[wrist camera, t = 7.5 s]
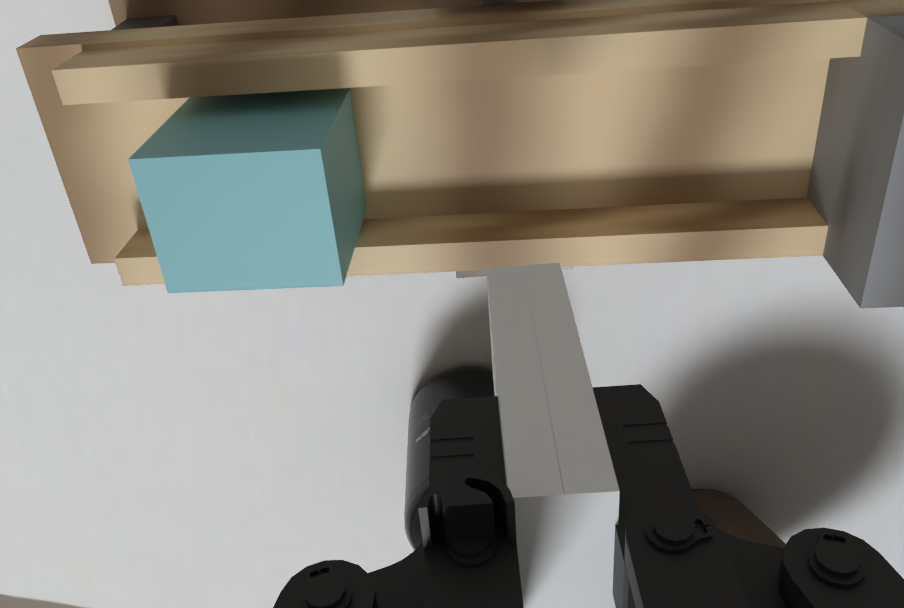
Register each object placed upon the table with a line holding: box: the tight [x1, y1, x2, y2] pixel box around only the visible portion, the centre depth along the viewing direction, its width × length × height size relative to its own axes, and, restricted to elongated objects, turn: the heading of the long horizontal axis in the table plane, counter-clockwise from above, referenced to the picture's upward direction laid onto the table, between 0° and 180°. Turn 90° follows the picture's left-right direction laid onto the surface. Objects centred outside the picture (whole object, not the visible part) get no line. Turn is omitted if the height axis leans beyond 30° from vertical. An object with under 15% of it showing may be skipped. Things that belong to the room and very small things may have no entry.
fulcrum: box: [109, 0, 572, 278], centre depth 30 cm, size 30×12×11 cm, turn 94°
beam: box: [16, 0, 904, 308], centre depth 24 cm, size 29×7×7 cm, turn 94°
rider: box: [128, 88, 367, 293], centre depth 24 cm, size 5×4×5 cm
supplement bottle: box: [405, 367, 495, 551], centre depth 40 cm, size 7×7×12 cm
